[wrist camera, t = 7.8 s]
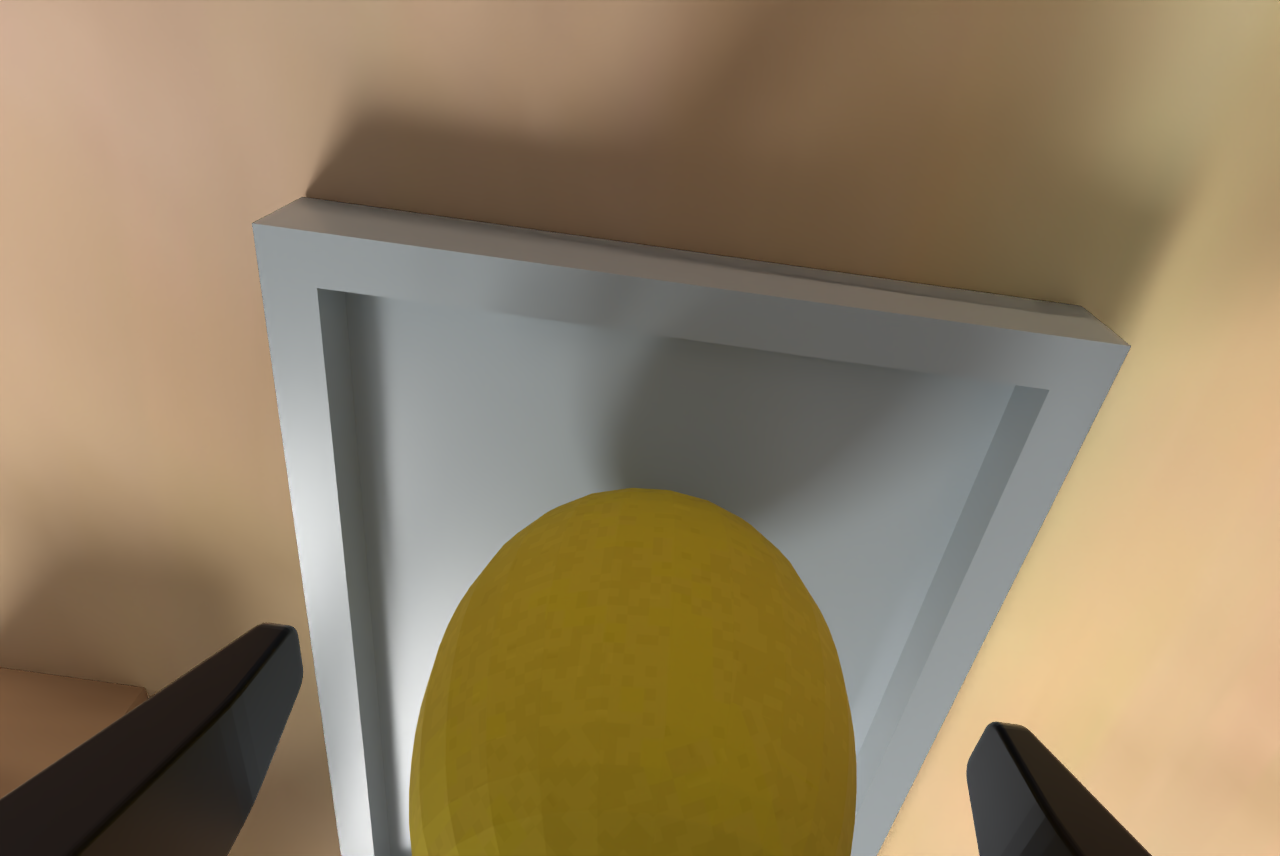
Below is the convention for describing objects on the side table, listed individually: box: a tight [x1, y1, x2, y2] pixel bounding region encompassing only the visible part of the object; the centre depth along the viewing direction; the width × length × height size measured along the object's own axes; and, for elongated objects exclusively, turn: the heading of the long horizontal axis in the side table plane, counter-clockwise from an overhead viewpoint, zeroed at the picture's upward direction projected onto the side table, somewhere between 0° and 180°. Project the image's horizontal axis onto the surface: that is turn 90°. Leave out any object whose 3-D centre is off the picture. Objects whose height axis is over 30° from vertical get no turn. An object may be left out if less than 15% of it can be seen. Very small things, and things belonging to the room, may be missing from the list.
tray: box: [252, 197, 1131, 856], centre depth 15 cm, size 18×12×2 cm, turn 174°
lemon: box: [409, 488, 857, 856], centre depth 10 cm, size 6×6×8 cm
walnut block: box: [0, 668, 148, 799], centre depth 16 cm, size 4×4×5 cm
